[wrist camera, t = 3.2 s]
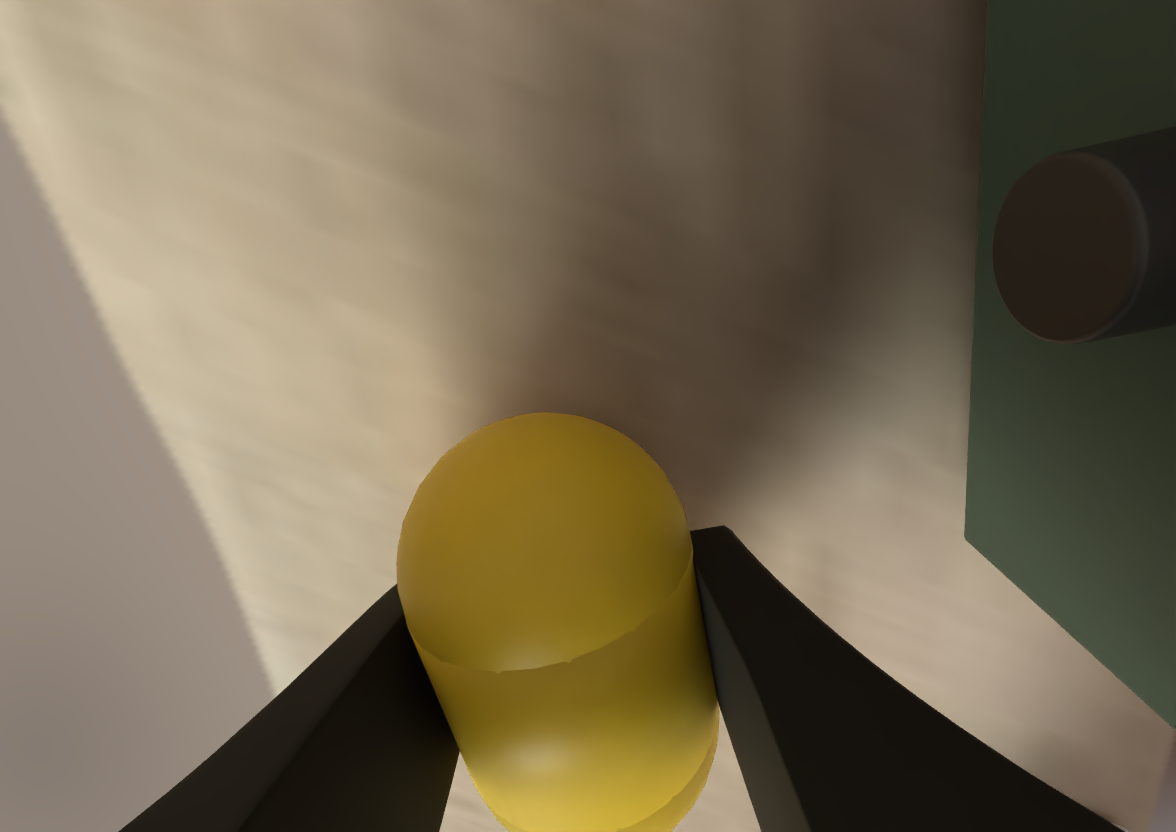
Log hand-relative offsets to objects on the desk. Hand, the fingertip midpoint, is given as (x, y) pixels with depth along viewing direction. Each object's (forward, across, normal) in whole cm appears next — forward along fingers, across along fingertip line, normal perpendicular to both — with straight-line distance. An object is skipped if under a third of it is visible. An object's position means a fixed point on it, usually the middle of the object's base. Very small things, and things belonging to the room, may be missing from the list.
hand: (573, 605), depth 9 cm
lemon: (+1, 0, 0) cm, 1 cm away
